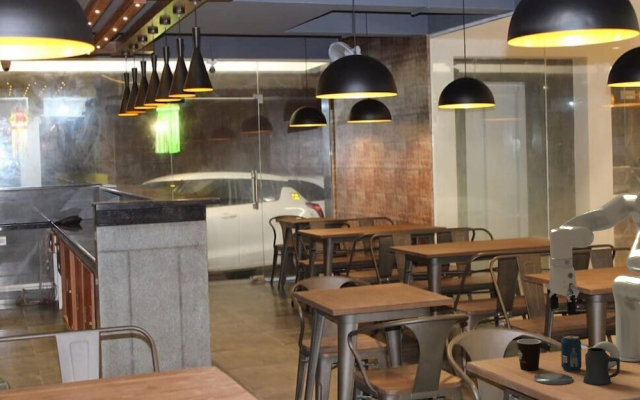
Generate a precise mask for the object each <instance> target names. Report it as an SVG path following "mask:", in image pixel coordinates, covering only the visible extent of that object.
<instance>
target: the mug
mask: <svg viewBox="0 0 640 400" xmlns="http://www.w3.org/2000/svg"><path fill="white" fill-rule="evenodd" d="M584 355H585V356H584V362H585V373H584V376H583V379H582V380H583V381H582V382H583V384H586V385H590V386H608V385H610V384H612V381H611V379H613V378H615V377H617V376H618V375H619V373H620V370H621V368H620V367H621V361H620V359H619V358H613V357H610V354H609V353H607V351H605V349H603V348H593V347H590V348H589V347H588V349H587V351H586V353H585V354H584ZM609 361H610V362H612V361H616V363H617V365H616V370H615V372H613V373H612V374H609V369H608V363H609Z"/></svg>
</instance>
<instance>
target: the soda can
mask: <svg viewBox="0 0 640 400" xmlns="http://www.w3.org/2000/svg"><path fill="white" fill-rule="evenodd" d="M560 347H561V349H560V353H561V354H560V357H561V359H560V360H561V361H560V363H561V365H560V367H561V368H562V369H563V371H565V372H572V373H574V372H576V373H577V372H579V371H581V368H582V367H583V366H582V341H581V339H580V336H578V335H575V334H572V335H571V334H566V335H563V336H562V339H561V340H560Z"/></svg>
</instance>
